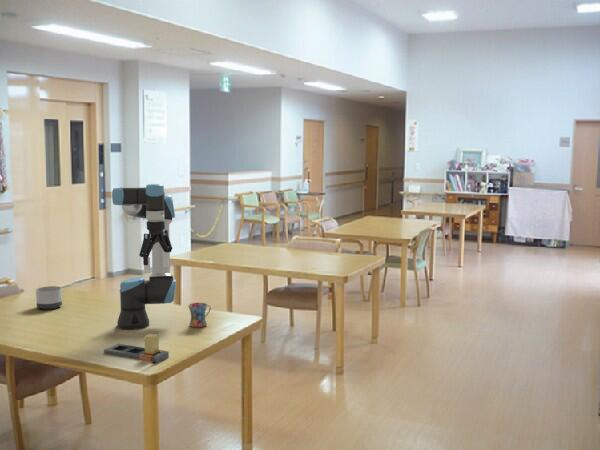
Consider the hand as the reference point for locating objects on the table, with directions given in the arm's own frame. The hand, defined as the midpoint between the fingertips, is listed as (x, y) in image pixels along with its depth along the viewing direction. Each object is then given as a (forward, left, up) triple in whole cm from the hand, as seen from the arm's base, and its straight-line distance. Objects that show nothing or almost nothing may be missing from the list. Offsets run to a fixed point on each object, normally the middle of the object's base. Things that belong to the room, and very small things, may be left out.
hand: (156, 269), depth 270 cm
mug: (-2, +37, -35) cm, 51 cm away
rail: (-2, -13, -35) cm, 37 cm away
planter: (-96, +34, -35) cm, 107 cm away
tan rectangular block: (+6, -13, -34) cm, 37 cm away
